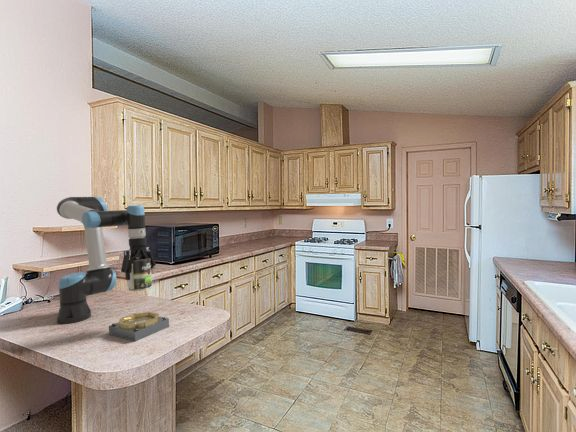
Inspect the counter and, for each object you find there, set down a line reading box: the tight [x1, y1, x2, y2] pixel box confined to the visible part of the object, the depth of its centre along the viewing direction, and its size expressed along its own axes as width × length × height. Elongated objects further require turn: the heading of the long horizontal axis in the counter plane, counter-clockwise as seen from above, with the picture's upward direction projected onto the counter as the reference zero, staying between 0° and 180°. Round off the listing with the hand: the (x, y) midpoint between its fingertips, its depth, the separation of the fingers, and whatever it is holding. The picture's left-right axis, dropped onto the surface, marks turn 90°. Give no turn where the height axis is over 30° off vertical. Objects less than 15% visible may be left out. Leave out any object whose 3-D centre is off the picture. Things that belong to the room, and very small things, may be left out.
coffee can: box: [128, 257, 153, 292], centre depth 155 cm, size 10×10×14 cm
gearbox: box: [108, 311, 170, 342], centre depth 150 cm, size 18×18×6 cm
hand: (140, 283), depth 155 cm, fingers closed on coffee can, 10 cm apart
